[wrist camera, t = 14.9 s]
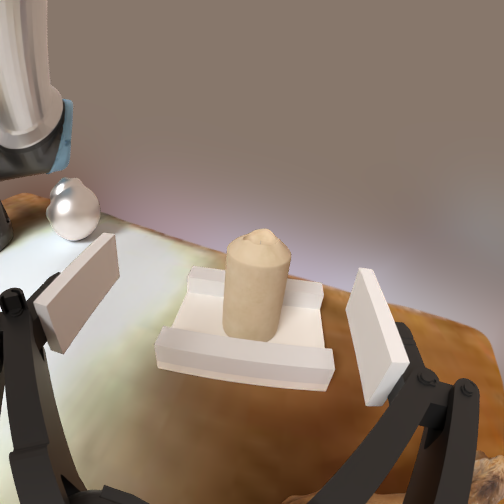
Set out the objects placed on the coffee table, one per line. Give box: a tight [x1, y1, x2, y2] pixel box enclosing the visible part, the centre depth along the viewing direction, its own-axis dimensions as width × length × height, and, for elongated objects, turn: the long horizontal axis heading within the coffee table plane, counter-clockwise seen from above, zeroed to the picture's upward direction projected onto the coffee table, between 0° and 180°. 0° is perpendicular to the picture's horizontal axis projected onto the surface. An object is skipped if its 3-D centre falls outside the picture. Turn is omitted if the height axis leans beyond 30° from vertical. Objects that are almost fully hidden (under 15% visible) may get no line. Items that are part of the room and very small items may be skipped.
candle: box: [222, 229, 291, 342], centre depth 29 cm, size 6×6×10 cm
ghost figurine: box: [46, 177, 100, 241], centre depth 44 cm, size 9×10×10 cm
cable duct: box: [154, 266, 335, 391], centre depth 31 cm, size 15×13×3 cm
